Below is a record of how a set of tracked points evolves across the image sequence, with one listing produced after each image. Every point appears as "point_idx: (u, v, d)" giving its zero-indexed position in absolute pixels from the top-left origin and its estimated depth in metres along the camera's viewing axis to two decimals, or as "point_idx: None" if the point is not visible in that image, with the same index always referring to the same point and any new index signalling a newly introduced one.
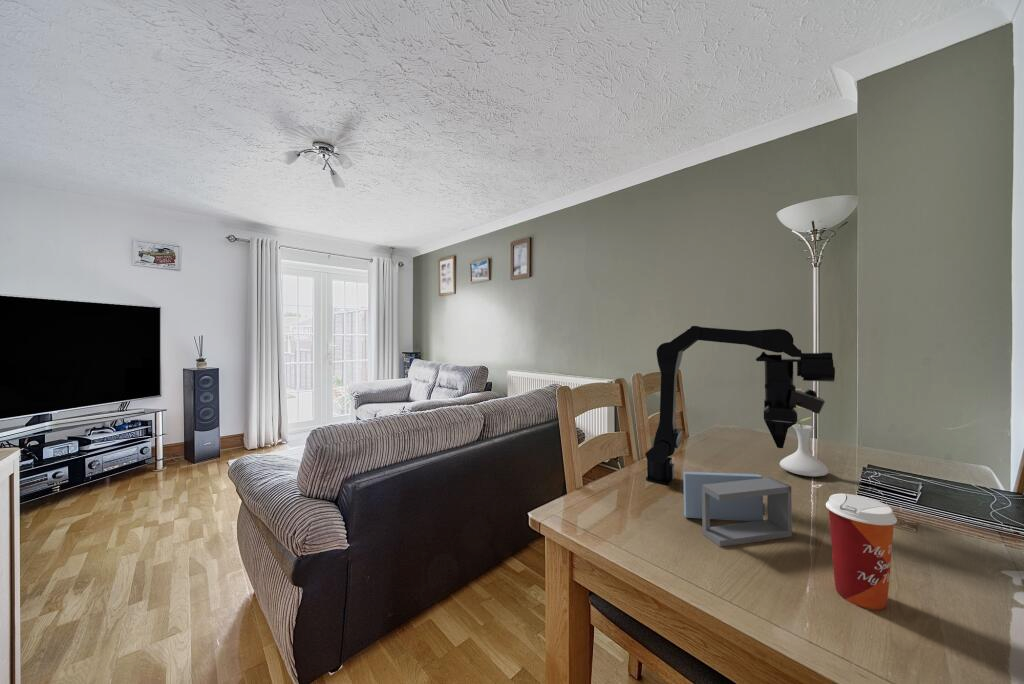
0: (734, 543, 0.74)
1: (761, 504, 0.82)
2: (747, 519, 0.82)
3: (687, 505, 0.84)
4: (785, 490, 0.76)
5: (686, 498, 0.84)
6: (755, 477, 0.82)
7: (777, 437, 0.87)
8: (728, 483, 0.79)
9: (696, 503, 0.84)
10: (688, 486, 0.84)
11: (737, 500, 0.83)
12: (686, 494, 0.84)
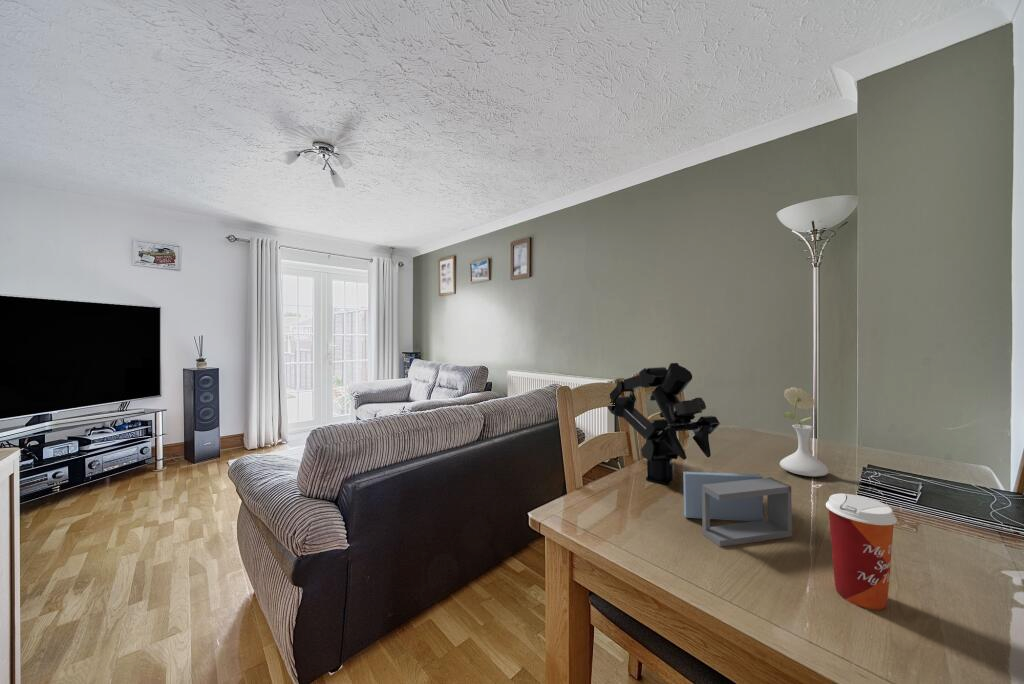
0: (734, 543, 0.74)
1: (761, 504, 0.82)
2: (747, 519, 0.82)
3: (687, 505, 0.84)
4: (785, 490, 0.76)
5: (686, 498, 0.84)
6: (755, 477, 0.82)
7: (676, 450, 0.93)
8: (728, 483, 0.79)
9: (696, 503, 0.84)
10: (688, 486, 0.84)
11: (737, 500, 0.83)
12: (686, 494, 0.84)
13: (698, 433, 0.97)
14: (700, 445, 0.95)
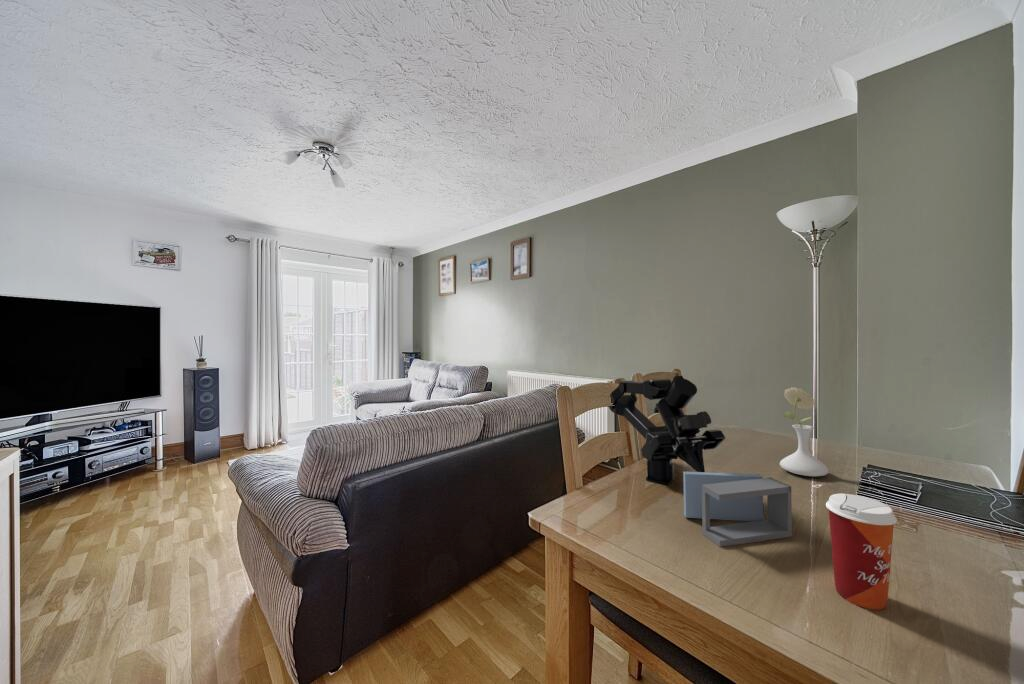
0: (734, 543, 0.74)
1: (761, 504, 0.82)
2: (747, 519, 0.82)
3: (687, 505, 0.84)
4: (785, 490, 0.76)
5: (686, 498, 0.84)
6: (755, 477, 0.82)
7: (693, 464, 0.92)
8: (728, 483, 0.79)
9: (696, 503, 0.84)
10: (688, 486, 0.84)
11: (737, 500, 0.83)
12: (686, 494, 0.84)
13: None
14: None
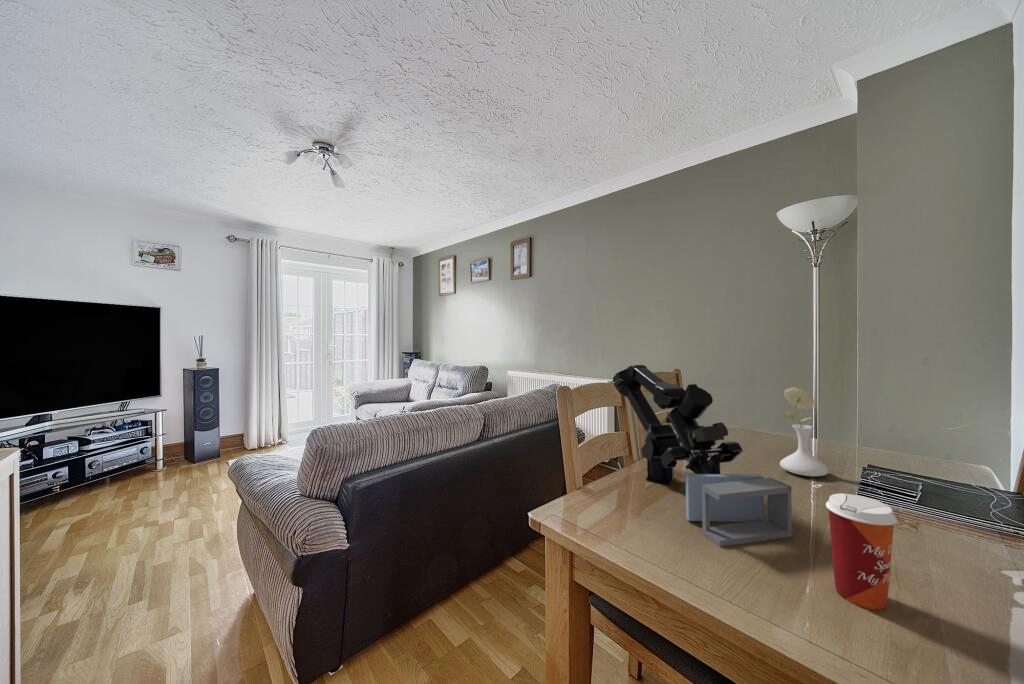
0: (734, 543, 0.74)
1: (762, 504, 0.82)
2: (748, 520, 0.82)
3: (690, 508, 0.83)
4: (785, 490, 0.76)
5: (689, 501, 0.83)
6: (756, 477, 0.82)
7: None
8: (728, 483, 0.79)
9: (699, 506, 0.83)
10: (691, 489, 0.83)
11: (739, 501, 0.82)
12: (689, 497, 0.83)
13: (708, 461, 0.89)
14: None
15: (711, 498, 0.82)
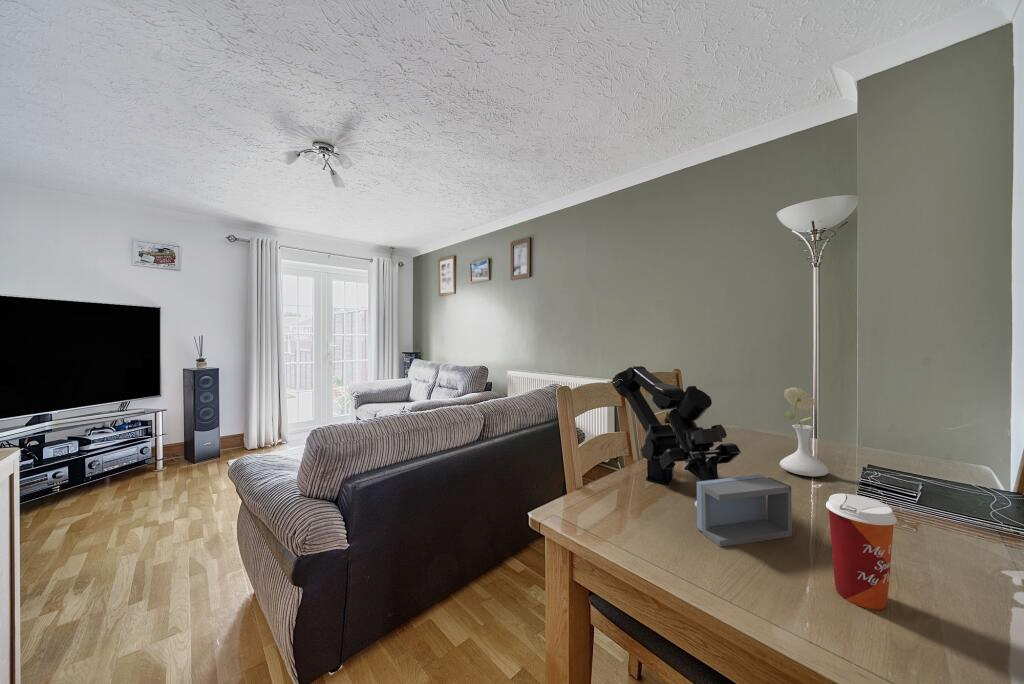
0: (734, 543, 0.74)
1: (765, 504, 0.82)
2: None
3: None
4: (785, 490, 0.76)
5: None
6: None
7: None
8: (728, 483, 0.79)
9: (711, 514, 0.79)
10: None
11: (745, 504, 0.81)
12: None
13: (706, 463, 0.89)
14: None
15: (722, 504, 0.79)
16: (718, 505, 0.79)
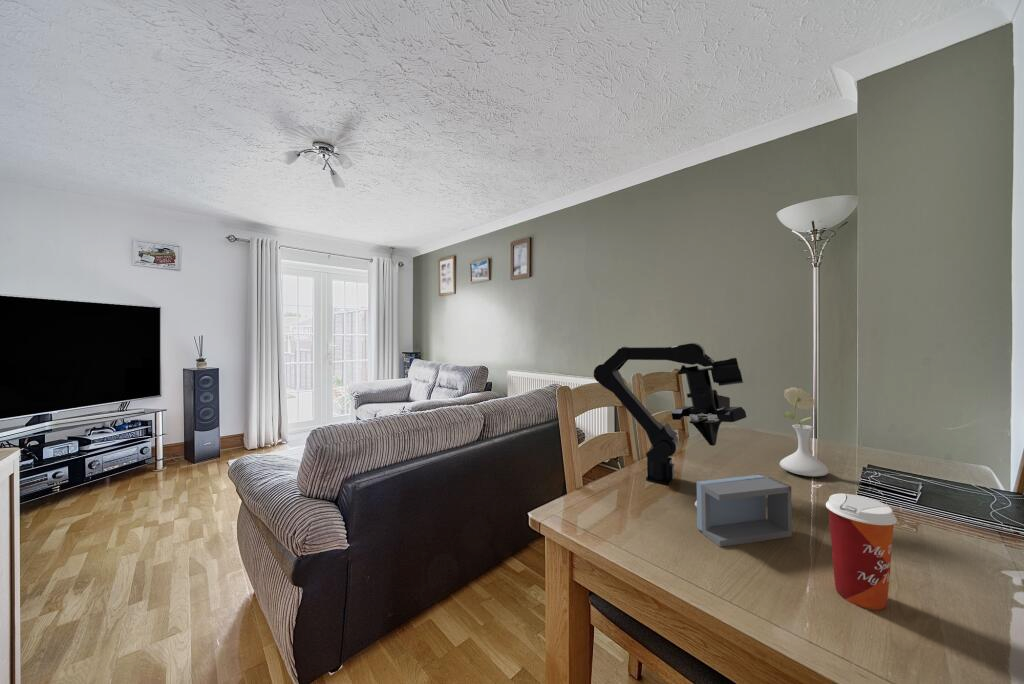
0: (734, 543, 0.74)
1: (765, 504, 0.82)
2: None
3: None
4: (785, 490, 0.76)
5: None
6: None
7: (713, 436, 1.00)
8: (728, 483, 0.79)
9: (711, 514, 0.79)
10: None
11: (745, 504, 0.81)
12: None
13: (705, 421, 1.02)
14: (706, 432, 1.01)
15: (722, 504, 0.79)
16: (718, 505, 0.79)
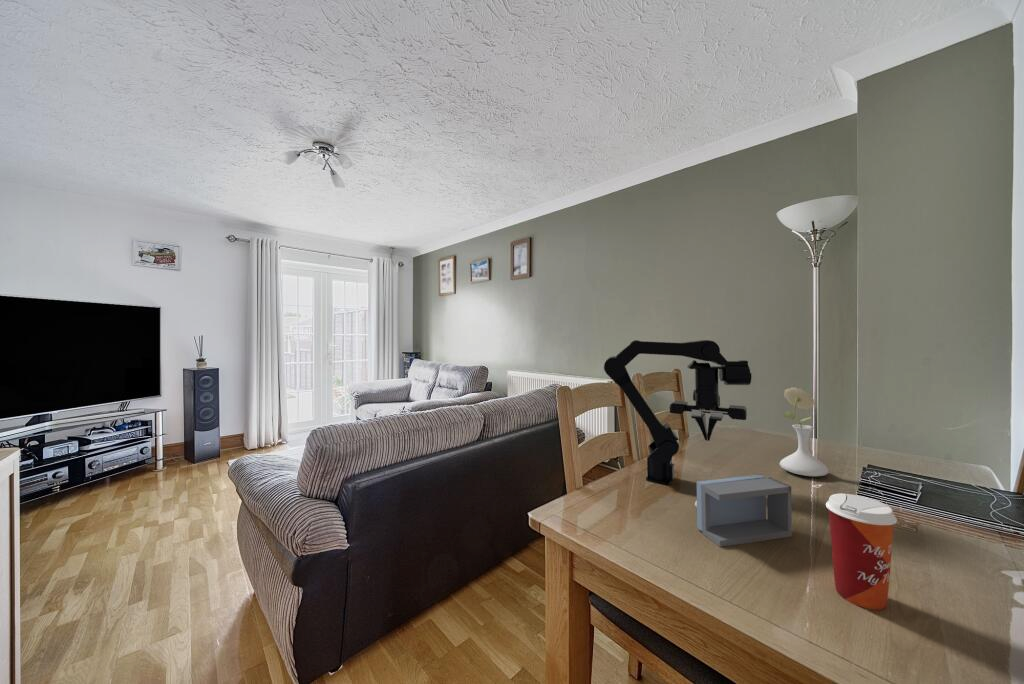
0: (734, 543, 0.74)
1: (765, 504, 0.82)
2: None
3: None
4: (785, 490, 0.76)
5: None
6: None
7: (711, 432, 1.03)
8: (728, 483, 0.79)
9: (711, 514, 0.79)
10: None
11: (745, 504, 0.81)
12: None
13: (704, 416, 1.04)
14: (705, 428, 1.03)
15: (722, 504, 0.79)
16: (718, 505, 0.79)
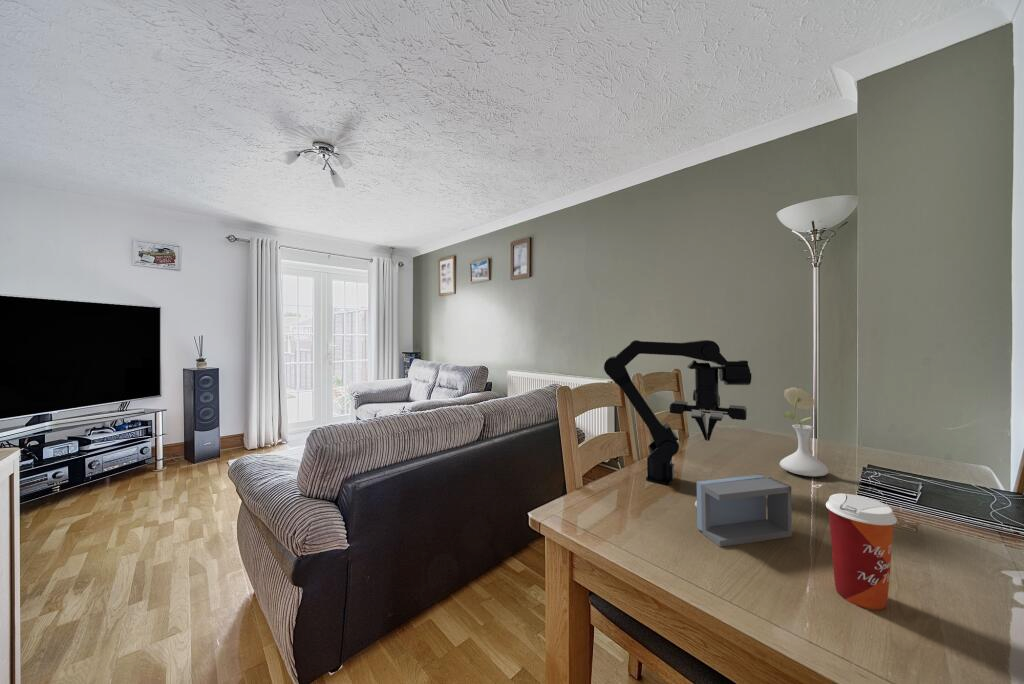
0: (734, 543, 0.74)
1: (765, 504, 0.82)
2: None
3: None
4: (785, 490, 0.76)
5: None
6: None
7: (711, 432, 1.03)
8: (728, 483, 0.79)
9: (711, 514, 0.79)
10: None
11: (745, 504, 0.81)
12: None
13: (704, 416, 1.04)
14: (705, 428, 1.03)
15: (722, 504, 0.79)
16: (718, 505, 0.79)
